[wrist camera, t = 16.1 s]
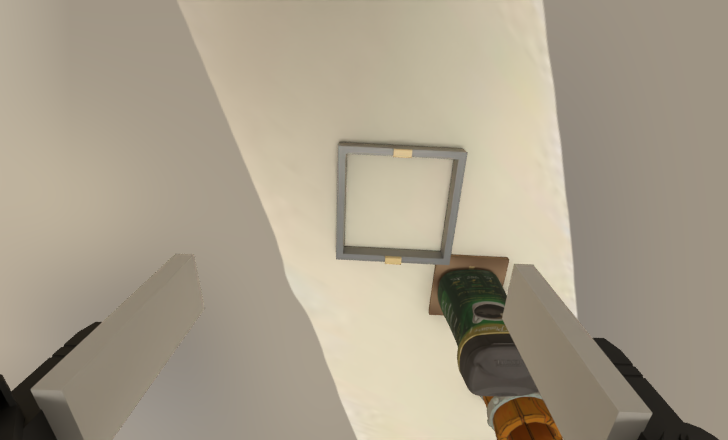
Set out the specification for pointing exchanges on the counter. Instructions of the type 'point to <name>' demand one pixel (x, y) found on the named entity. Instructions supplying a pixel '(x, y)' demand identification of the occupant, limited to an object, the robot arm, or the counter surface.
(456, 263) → the pad
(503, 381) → the coffee jar
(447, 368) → the counter surface
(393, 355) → the counter surface
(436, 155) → the grey square shallow frame
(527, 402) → the mug
